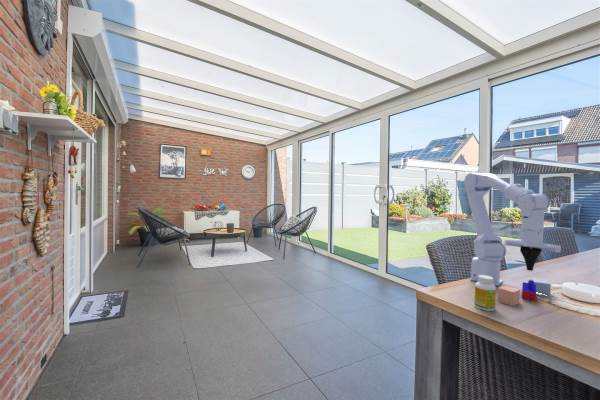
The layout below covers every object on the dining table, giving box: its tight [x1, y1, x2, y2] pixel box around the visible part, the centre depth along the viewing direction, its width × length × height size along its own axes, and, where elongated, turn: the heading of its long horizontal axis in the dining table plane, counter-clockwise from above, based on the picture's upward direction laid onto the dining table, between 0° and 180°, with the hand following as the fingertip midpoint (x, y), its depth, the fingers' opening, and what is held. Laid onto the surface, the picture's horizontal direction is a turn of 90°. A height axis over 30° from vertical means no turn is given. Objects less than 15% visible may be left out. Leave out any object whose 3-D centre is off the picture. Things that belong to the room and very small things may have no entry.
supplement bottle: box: [473, 275, 497, 312], centre depth 88 cm, size 5×5×10 cm
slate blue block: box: [531, 277, 552, 297], centre depth 101 cm, size 4×4×4 cm
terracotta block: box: [496, 285, 521, 307], centre depth 93 cm, size 4×4×4 cm
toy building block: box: [521, 279, 537, 302], centre depth 96 cm, size 4×4×8 cm
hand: (529, 269), depth 96 cm, fingers closed
